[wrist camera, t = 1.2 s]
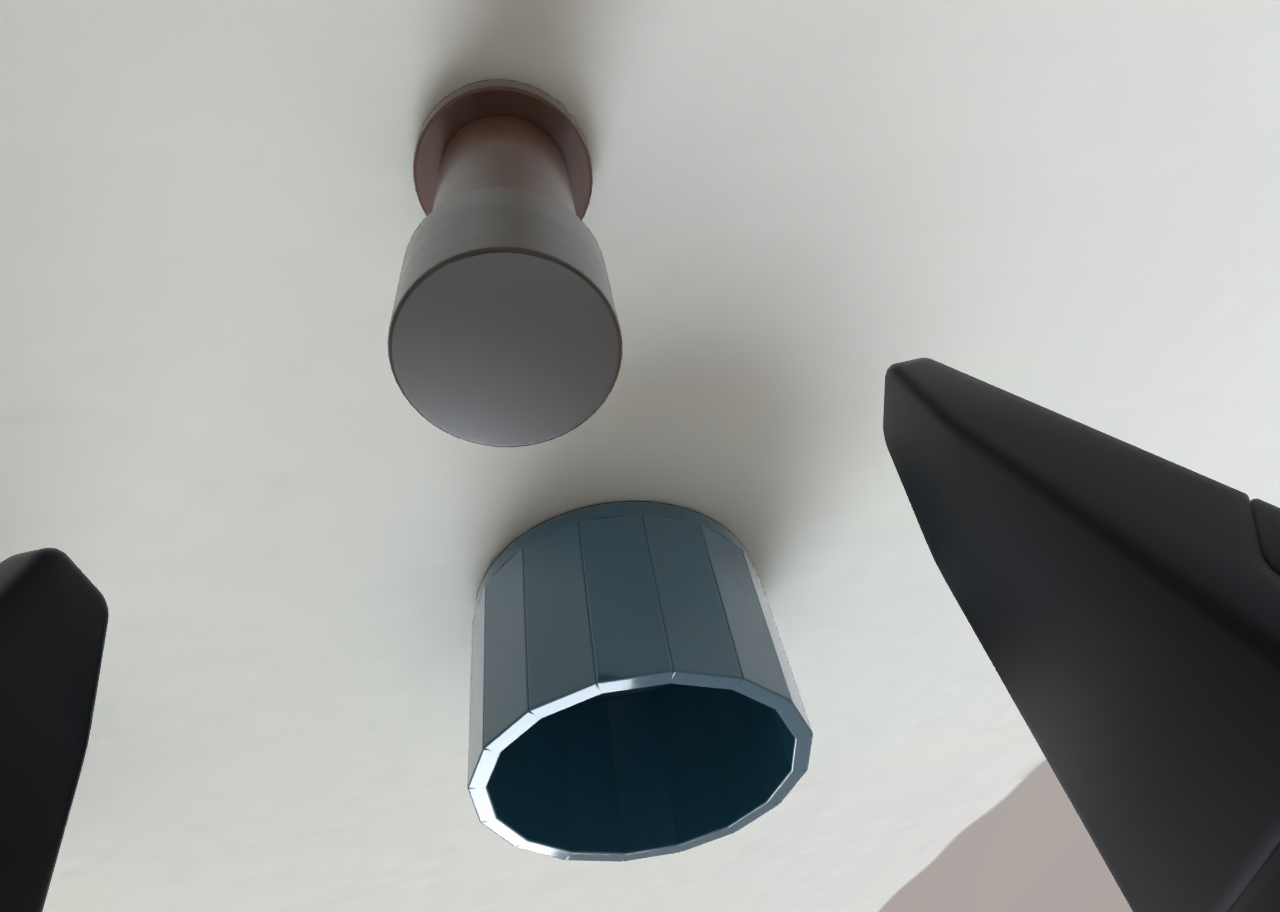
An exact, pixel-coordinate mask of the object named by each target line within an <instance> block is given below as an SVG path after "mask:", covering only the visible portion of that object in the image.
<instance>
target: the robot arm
mask: <svg viewBox="0 0 1280 912" xmlns="http://www.w3.org/2000/svg"><path fill="white" fill-rule="evenodd" d="M883 430H884V437H885V441H886V445H887V447H888V450H889V452H890V455H891V457H892V460H893V462H894V465H895V467H896V469H897V472H898V474H899V477H900V479H901V482H902V484H903V486H904V489H905V491H906V494H907V496H908V499H909V501H910V503H911V506H912V508H913V511H914V513H915V515H916V518H917V520H918V523H919V525H920V528H921V530H922V532H923V535H924V537H925V540H926V542H927V544H928V547H929V549H930V551H931V553H932V556H933V558H934V560H935V562H936V564H937V566H938V568H939V570H940V571H941V573H942V575H943V577H944V579H945V581H946V583H947V584H948V586H949V588H950V590H951V591H952V593H953V595H954V597H955V598H956V600H957V602H958V604H959V605H960V607H961V609H962V611H963V613H964V614H965V616H966V618H967V620H968V621H969V623H970V625H971V627H972V628H973V630H974V632H975V634H976V635H977V637H978V639H979V641H980V642H981V644H982V646H983V648H984V650H985V651H986V653H987V655H988V657H989V658H990V660H991V662H992V664H993V665H994V667H995V669H996V671H997V672H998V674H999V676H1000V678H1001V680H1002V681H1003V683H1004V685H1005V687H1006V688H1007V690H1008V692H1009V694H1010V695H1011V697H1012V699H1013V701H1014V702H1015V704H1016V706H1017V708H1018V710H1019V711H1020V713H1021V715H1022V717H1023V718H1024V720H1025V722H1026V724H1027V725H1028V727H1029V729H1030V731H1031V732H1032V734H1033V736H1034V738H1035V739H1036V741H1037V743H1038V745H1039V747H1040V748H1041V750H1042V752H1043V754H1044V755H1045V757H1046V759H1047V761H1048V762H1049V764H1050V766H1051V768H1052V769H1053V771H1054V773H1055V775H1056V777H1057V778H1058V780H1059V782H1060V783H1061V785H1062V787H1063V789H1064V791H1065V792H1066V794H1067V796H1068V798H1069V799H1070V801H1071V803H1072V805H1073V806H1074V808H1075V810H1076V812H1077V814H1078V815H1079V817H1080V819H1081V821H1082V822H1083V824H1084V826H1085V828H1086V829H1087V831H1088V833H1089V835H1090V836H1091V838H1092V840H1093V842H1094V843H1095V845H1096V847H1097V849H1098V851H1099V852H1100V854H1101V856H1102V858H1103V859H1104V861H1105V863H1106V865H1107V866H1108V868H1109V870H1110V872H1111V873H1112V875H1113V877H1114V879H1115V881H1116V882H1117V884H1118V886H1119V888H1120V889H1121V891H1122V893H1123V895H1124V896H1125V898H1126V900H1127V901H1128V903H1129V905H1130V907H1131V909H1132V911H1133V912H1280V508H1278V507H1276V506H1274V505H1271V504H1269V503H1267V502H1264V501H1262V500H1260V499H1253V500H1251V501H1250V499H1249V497H1248V495H1247V494H1245V493H1243V492H1240V491H1238V490H1236V489H1233V488H1231V487H1229V486H1226V485H1224V484H1222V483H1219V482H1217V481H1215V480H1212V479H1210V478H1208V477H1205V476H1203V475H1201V474H1198V473H1196V472H1194V471H1191V470H1189V469H1187V468H1184V467H1182V466H1180V465H1177V464H1175V463H1173V462H1170V461H1168V460H1166V459H1163V458H1161V457H1159V456H1156V455H1154V454H1152V453H1149V452H1147V451H1145V450H1142V449H1140V448H1138V447H1135V446H1133V445H1131V444H1128V443H1126V442H1124V441H1121V440H1119V439H1117V438H1114V437H1112V436H1110V435H1107V434H1105V433H1103V432H1100V431H1098V430H1096V429H1093V428H1091V427H1089V426H1086V425H1084V424H1082V423H1079V422H1077V421H1075V420H1072V419H1070V418H1068V417H1065V416H1063V415H1061V414H1058V413H1056V412H1054V411H1051V410H1049V409H1047V408H1044V407H1042V406H1040V405H1037V404H1035V403H1033V402H1030V401H1028V400H1025V399H1023V398H1021V397H1018V396H1016V395H1014V394H1011V393H1009V392H1007V391H1004V390H1002V389H1000V388H997V387H995V386H993V385H990V384H988V383H986V382H983V381H981V380H979V379H976V378H974V377H972V376H969V375H967V374H965V373H962V372H960V371H958V370H955V369H953V368H951V367H948V366H946V365H944V364H941V363H939V362H937V361H934V360H932V359H929V358H919V359H914V360H910V361H905V362H901V363H896V364H893V365H891V366H890V367H889V368H888V369H887V373H886V376H885V393H884V417H883ZM107 624H108V607H107V603H106V601H105V599H104V597H103V595H102V594H101V592H100V591H99V590H98V589H97V588H96V587H95V586H94V585H93V584H92V582H91V581H90V580H89V579H88V578H87V577H86V576H85V575H84V574H83V572H82V571H81V570H80V569H79V568H78V567H77V566H76V565H75V564H74V563H73V561H72V560H71V559H70V558H69V557H68V556H67V555H66V554H65V553H64V552H62V551H60V550H58V549H55V548H44V549H39V550H35V551H30V552H25V553H21V554H17V555H14V556H11V557H9V558H7V559H6V560H4V561H3V562H2V563H0V912H42V911H43V907H44V903H45V900H46V896H47V892H48V889H49V885H50V882H51V878H52V874H53V871H54V867H55V864H56V860H57V856H58V853H59V849H60V845H61V842H62V838H63V835H64V831H65V827H66V824H67V820H68V816H69V813H70V809H71V806H72V802H73V798H74V795H75V791H76V787H77V784H78V780H79V777H80V773H81V769H82V765H83V761H84V757H85V753H86V749H87V745H88V740H89V734H90V729H91V724H92V718H93V711H94V705H95V699H96V693H97V686H98V680H99V674H100V668H101V661H102V655H103V649H104V643H105V636H106V630H107Z"/></svg>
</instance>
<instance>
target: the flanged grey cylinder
mask: <svg viewBox="0 0 1280 912" xmlns="http://www.w3.org/2000/svg"><path fill="white" fill-rule="evenodd" d="M413 174H414V183H415V189H416V192H417V196H418V199H419V202H420V204H421V206H422V208H423V210H424V212H425V214H426V216H427V217H426V218H425V219H424V220H423V221H422V222H421V224H420V225H419V226H418V227H417V229H416V231H415V232H414V234H413V235H412V237H411V239H410V242H409V244H408V246H407V249H406V252H405V256H404V260H403V264H402V269H401V274H400V279H399V284H398V288H397V293H396V298H395V303H394V308H393V312H392V317H391V322H390V327H389V335H388V356H389V360H390V365H391V369H392V372H393V375H394V377H395V380H396V382H397V384H398V386H399V388H400V389H401V391H402V393H403V394H404V396H405V397H406V398H407V400H408V401H409V402H410V404H411V405H412V406H413V407H414V408H415V409H416V410H417V411H418V412H419V413H420V414H421V415H422V416H423V417H424V418H425V419H427V420H428V421H429V422H430V423H432V424H433V425H435V426H436V427H438V428H440V429H441V430H443V431H445V432H447V433H449V434H451V435H453V436H455V437H458V438H460V439H463V440H466V441H469V442H473V443H477V444H481V445H488V446H496V447H518V446H527V445H533V444H538V443H542V442H545V441H549V440H552V439H554V438H557V437H559V436H562V435H564V434H566V433H568V432H569V431H571V430H573V429H575V428H576V427H578V426H579V425H581V424H582V423H583V422H585V421H586V420H587V419H588V418H589V417H591V416H592V415H593V414H594V413H595V412H596V411H597V410H598V409H599V407H600V406H601V405H602V404H603V403H604V401H605V400H606V398H607V397H608V395H609V394H610V392H611V390H612V388H613V386H614V384H615V382H616V380H617V377H618V374H619V370H620V367H621V360H622V336H621V329H620V325H619V320H618V316H617V312H616V308H615V304H614V299H613V295H612V291H611V287H610V282H609V278H608V274H607V270H606V265H605V262H604V258H603V255H602V252H601V250H600V247H599V245H598V243H597V241H596V239H595V238H594V236H593V235H592V233H591V232H590V230H589V229H588V227H587V226H586V225H585V224H584V223H583V222H582V219H583V217H584V215H585V213H586V210H587V208H588V205H589V201H590V197H591V193H592V183H593V178H592V166H591V159H590V156H589V152H588V148H587V145H586V142H585V139H584V137H583V135H582V132H581V130H580V128H579V127H578V125H577V123H576V122H575V120H574V119H573V118H572V116H571V115H570V114H569V113H568V111H567V110H566V109H565V108H564V107H563V106H562V105H561V104H560V103H559V102H558V101H556V100H555V99H554V98H552V97H551V96H550V95H548V94H546V93H545V92H543V91H541V90H539V89H537V88H535V87H533V86H530V85H528V84H524V83H521V82H517V81H511V80H502V79H500V80H485V81H479V82H475V83H472V84H469V85H466V86H464V87H462V88H460V89H458V90H456V91H454V92H453V93H451V94H450V95H448V96H447V97H445V98H444V99H443V100H442V101H441V102H440V103H439V104H438V105H437V106H436V107H435V108H434V109H433V111H432V112H431V113H430V114H429V116H428V118H427V119H426V121H425V123H424V125H423V127H422V129H421V132H420V134H419V138H418V142H417V146H416V150H415V154H414V163H413Z"/></svg>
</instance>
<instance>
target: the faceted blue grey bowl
mask: <svg viewBox="0 0 1280 912" xmlns="http://www.w3.org/2000/svg"><path fill="white" fill-rule="evenodd" d="M812 736H813V733H812V729H811V726H810V723H809V720H808V717H807V714H806V711H805V708H804V705H803V703H802V700H801V697H800V694H799V691H798V688H797V685H796V682H795V679H794V676H793V673H792V670H791V667H790V664H789V661H788V659H787V656H786V653H785V650H784V647H783V644H782V641H781V638H780V635H779V632H778V629H777V626H776V623H775V620H774V618H773V615H772V612H771V609H770V606H769V603H768V600H767V597H766V594H765V591H764V588H763V585H762V582H761V580H760V579H759V577H758V575H757V573H756V572H755V569H754V566H753V563H752V561H751V559H750V557H749V554H748V552H747V551H746V549H745V548H744V547H743V545H742V544H741V542H740V541H739V540H738V539H737V538H736V537H735V536H734V535H733V534H732V533H731V532H730V531H729V530H727V529H726V528H724V527H723V526H722V525H720V524H719V523H717V522H716V521H714V520H712V519H710V518H708V517H706V516H704V515H702V514H700V513H697V512H694V511H691V510H689V509H686V508H682V507H677V506H673V505H669V504H662V503H653V502H616V503H606V504H601V505H595V506H590V507H585V508H582V509H578V510H575V511H571V512H568V513H565V514H563V515H560V516H558V517H555V518H553V519H550V520H548V521H546V522H544V523H542V524H540V525H538V526H537V527H535V528H533V529H531V530H530V531H528V532H527V533H525V534H524V535H522V536H521V537H519V538H518V539H516V540H515V541H514V542H513V543H512V544H511V545H510V546H508V547H507V548H506V549H505V550H504V551H503V552H502V553H501V554H500V555H499V557H498V558H497V559H496V560H495V561H494V562H493V564H492V565H491V567H490V568H489V570H488V572H487V573H486V575H485V576H484V579H483V581H482V583H481V586H480V588H479V591H478V595H477V600H476V613H475V616H474V619H473V624H472V657H471V689H470V722H469V755H468V790H469V793H470V796H471V799H472V801H473V804H474V807H475V810H476V812H477V815H478V818H479V820H480V822H481V823H482V824H483V825H485V826H486V827H488V828H489V829H491V830H492V831H493V832H495V833H496V834H498V835H499V836H500V837H502V838H503V839H505V840H506V841H508V842H509V843H510V844H512V845H513V846H516V847H517V848H521V849H525V850H529V851H533V852H536V853H540V854H544V855H548V856H551V857H555V858H559V859H563V860H565V859H566V860H583V861H629V860H635V859H641V858H647V857H653V856H659V855H665V854H671V853H677V852H681V851H685V850H688V849H691V848H693V847H696V846H699V845H702V844H704V843H707V842H710V841H713V840H715V839H718V838H721V837H724V836H726V835H729V834H732V833H734V832H735V831H738V830H740V829H741V828H743V827H744V826H746V825H748V824H749V823H751V822H752V821H754V820H755V819H757V818H759V817H760V816H762V815H763V814H765V813H766V812H768V811H770V810H771V809H773V808H774V807H776V806H777V805H779V803H781V802H782V801H783V799H784V798H785V797H786V796H787V794H788V793H789V792H790V791H791V790H792V788H793V787H794V786H795V785H796V783H797V782H798V781H799V780H800V779H801V777H802V776H803V775H804V774H805V772H806V771H807V769H808V763H809V756H810V750H811V743H812Z"/></svg>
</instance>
